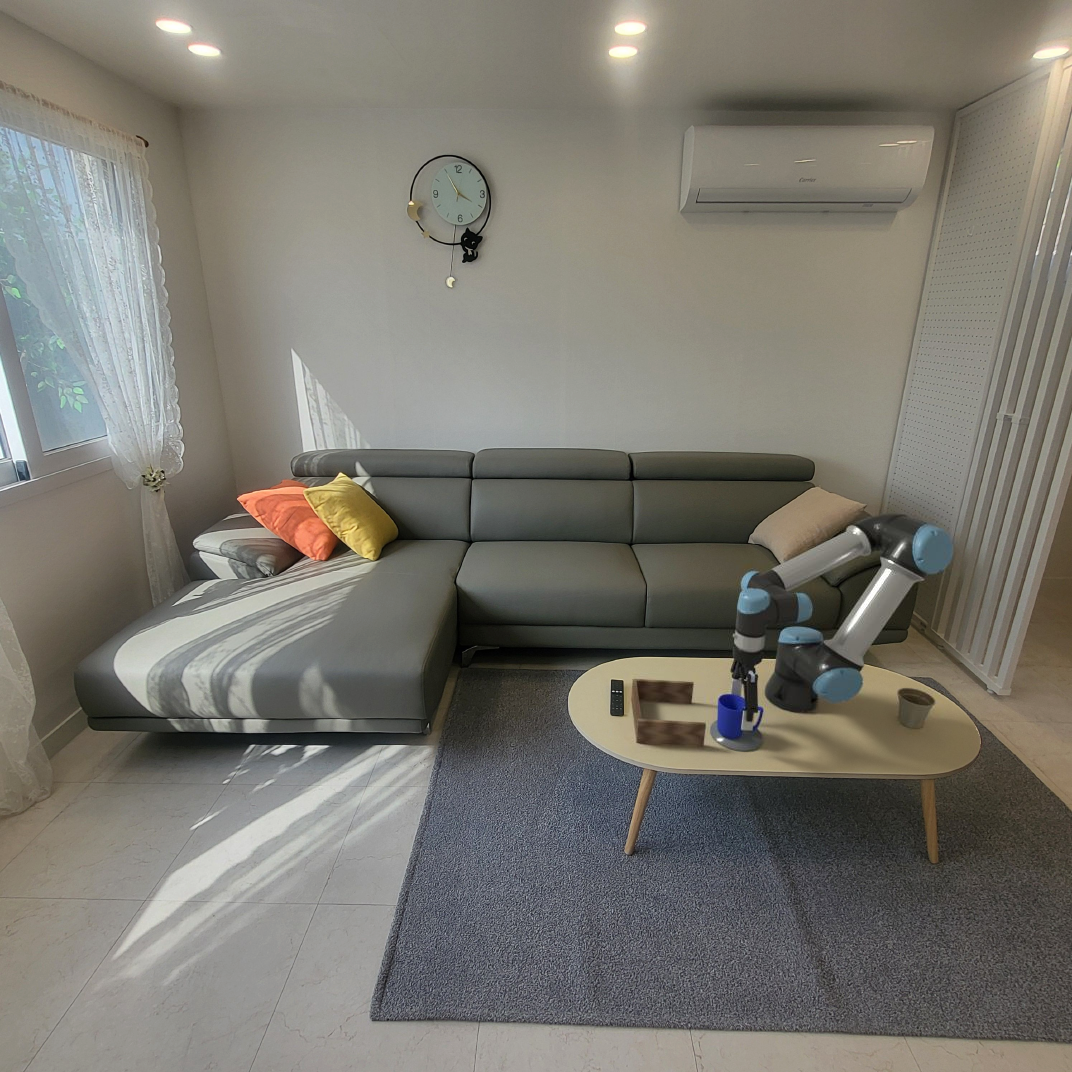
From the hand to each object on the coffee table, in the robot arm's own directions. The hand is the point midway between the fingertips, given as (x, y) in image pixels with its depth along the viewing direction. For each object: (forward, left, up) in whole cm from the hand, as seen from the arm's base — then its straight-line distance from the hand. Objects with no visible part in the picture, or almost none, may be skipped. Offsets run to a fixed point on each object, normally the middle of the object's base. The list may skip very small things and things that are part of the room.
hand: (740, 714), depth 168 cm
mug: (0, 0, -6) cm, 6 cm away
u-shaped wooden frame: (+19, -4, -7) cm, 21 cm away
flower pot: (-52, -11, -7) cm, 53 cm away
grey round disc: (0, 0, -7) cm, 7 cm away
